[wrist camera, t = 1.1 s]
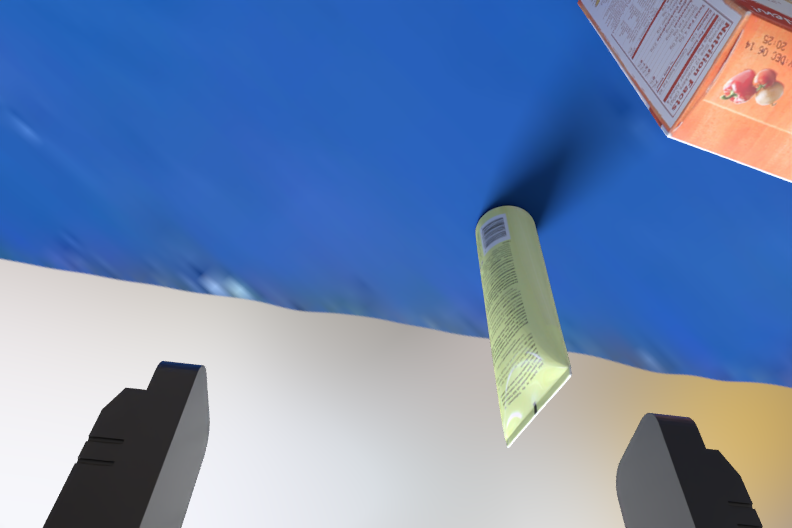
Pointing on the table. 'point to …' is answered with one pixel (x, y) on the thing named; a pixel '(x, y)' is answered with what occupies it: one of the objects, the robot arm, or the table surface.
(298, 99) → the table surface
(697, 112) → the cracker box
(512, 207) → the tube
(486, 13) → the table surface
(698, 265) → the table surface
